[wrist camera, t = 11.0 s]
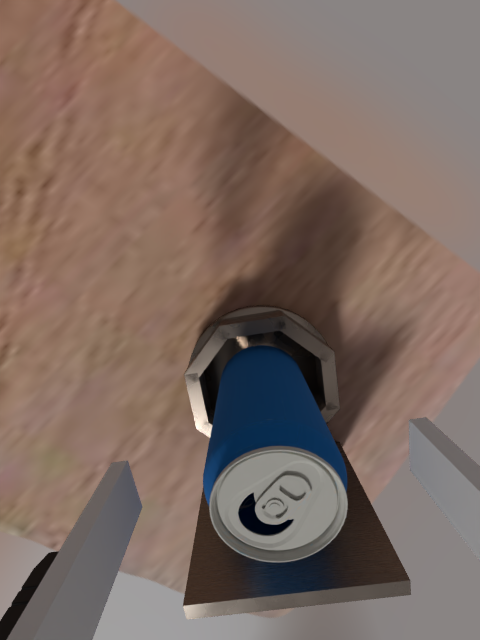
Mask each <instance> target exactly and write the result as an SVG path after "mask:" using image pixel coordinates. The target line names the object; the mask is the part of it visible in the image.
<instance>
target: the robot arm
mask: <svg viewBox="0 0 480 640" xmlns="http://www.w3.org/2000/svg"><path fill="white" fill-rule="evenodd" d="M409 448H410V471H411V472H412V473H413V475H414V476H415V477H416V479H417V480H418V481H419V482H420V484H421V485H422V486H423V488H424V489H425V490H426V492H427V493H428V494H429V495H430V497H431V498H432V499H433V501H434V502H435V503H436V505H437V506H438V507H439V509H440V510H441V511H442V512H443V514H444V515H445V516H446V518H447V519H448V520H449V522H450V523H451V524H452V525H453V527H454V528H455V529H456V531H457V532H458V533H459V535H460V536H461V537H462V538H463V540H464V541H465V542H466V544H467V545H468V546H469V548H470V549H471V550H472V552H473V553H474V554H475V556H476V557H477V558H478V559H479V561H480V466H479V465H478V464H477V463H476V462H475V461H474V460H472V459H471V458H470V457H469V456H468V455H467V454H466V453H464V451H463V450H461V449H460V448H459V447H458V446H457V445H456V444H455V443H454V442H453V441H451V440H450V439H449V438H448V437H447V436H446V435H445V434H444V433H443V432H442V431H441V430H439V429H438V428H437V427H436V426H435V425H434V424H433V423H432V422H431V421H430V420H428V419H427V418H426V417H424V418H417V419H410V420H409ZM141 509H142V505H141V501H140V498H139V495H138V492H137V489H136V486H135V482H134V479H133V476H132V473H131V470H130V467H129V463H128V460H127V461H121V462H114V463H111V465H110V467H109V468H108V470H107V472H106V473H105V475H104V477H103V478H102V480H101V482H100V484H99V485H98V487H97V489H96V490H95V492H94V494H93V495H92V497H91V499H90V500H89V502H88V504H87V505H86V507H85V509H84V510H83V512H82V514H81V515H80V517H79V519H78V520H77V522H76V524H75V526H74V527H73V529H72V531H71V532H70V534H69V536H68V537H67V539H66V541H65V542H64V544H63V546H62V547H61V549H60V551H58V552H51V553H48V554H47V555H46V556H45V558H44V559H43V560H42V561H41V562H40V563H39V564H38V565H37V566H36V567H35V568H34V569H33V571H32V572H31V574H30V576H29V577H28V579H27V580H26V582H25V583H24V585H23V586H22V590H21V591H19V593H18V594H17V596H16V597H15V599H14V600H13V602H12V606H11V607H9V608H8V610H7V611H6V613H5V614H4V616H3V617H2V619H1V621H0V640H92V639H93V636H94V634H95V631H96V628H97V626H98V623H99V620H100V618H101V615H102V612H103V610H104V607H105V604H106V602H107V599H108V596H109V594H110V591H111V588H112V586H113V583H114V580H115V578H116V575H117V573H118V570H119V567H120V565H121V562H122V559H123V557H124V554H125V551H126V549H127V546H128V543H129V541H130V538H131V535H132V533H133V530H134V527H135V525H136V522H137V519H138V517H139V514H140V511H141Z"/></svg>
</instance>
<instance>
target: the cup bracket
mask: <svg viewBox="0 0 480 640" xmlns="http://www.w3.org/2000/svg"><path fill="white" fill-rule="evenodd" d="M256 345H268V346H273V347H276V348H279V349H281V350H283V351H285V352H286V353H288V354H289V355H290V356H291V357H292V358H293V359H294V360H295V361H296V363H297V364H298V366H299V368H300V370H301V372H302V375H303V377H304V379H305V381H306V383H307V385H308V387H309V389H310V391H311V393H312V395H313V397H314V399H315V402H316V404H317V406H318V408H319V410H320V412H321V414H322V416H323V418H324V420H325V422H326V424H327V423H328V422H329V421H330V419H331V418H332V417H333V416H334V415H335V414H336V413H337V412H338V410H339V409H340V405H339V394H338V384H337V374H336V364H335V353H334V351H333V350H332V349H331V348H330V347H329V345H328V344H327V343H326V341H325V340H324V338H323V337H322V336H321V334H320V333H319V332H318V331H317V330H316V329H315V328H314V327H313V326H312V325H311V324H310V323H309V322H308V321H307V320H305V319H304V318H302V317H301V316H299V315H298V314H296V313H293V312H291V311H289V310H286V309H283V308H279V307H274V306H264V305H258V306H249V307H244V308H240V309H237V310H234V311H232V312H230V313H228V314H226V315H224V316H222V317H221V318H219V319H218V320H216V321H215V322H214V323H213V324H212V325H211V326H209V327H208V328H207V330H206V331H205V332H204V333H203V334H202V336H201V337H200V339H199V341H198V342H197V344H196V346H195V348H194V350H193V353H192V355H191V359H190V363H189V366H188V368H187V370H186V372H185V374H184V376H185V380H186V385H187V389H188V393H189V398H190V402H191V407H192V411H193V415H194V420H195V424H196V428H197V430H199V431H200V432H202V433H203V434H205V435H207V436H208V437H210V436H211V430H212V425H213V419H214V414H215V408H216V403H217V397H218V392H219V386H220V381H221V376H222V372H223V369H224V367H225V365H226V364H227V362H228V361H229V360H230V359H231V358H232V357H233V356H234V355H235V354H236V353H238V352H239V351H241V350H243V349H245V348H248V347H251V346H256ZM335 443H336V445H337V447H338V449H339V451H340V453H341V456H342V458H343V460H344V463H345V466H346V472H347V491H346V494H347V500H348V510H347V515H346V519H345V521H344V524H343V526H342V528H341V530H340V531H339V533H338V534H337V536H336V537H335V538H334V539H333V540H332V541H331V542H330V543H329V544H328V545H327V546H325V547H324V548H323V549H321V550H320V551H318V552H316V553H314V554H312V555H310V556H308V557H305V558H302V559H299V560H295V561H289V562H265V561H259V560H255V559H252V558H249V557H246V556H244V555H242V554H240V553H238V552H236V551H235V550H234V549H232V548H231V547H229V546H228V545H227V544H226V543H225V542H224V541H223V540H222V539H221V538H220V536H219V535H218V533H217V532H216V530H215V528H214V526H213V524H212V521H211V517H210V510H209V505H208V503H207V500H206V497H205V493H204V486H203V492H202V498H201V504H200V510H199V515H198V521H197V527H196V533H195V539H194V545H193V550H192V556H191V562H190V568H189V574H188V580H187V586H186V591H185V597H184V603H183V607H184V611H185V614H186V618H187V619H195V618H204V617H213V616H222V615H232V614H240V613H250V612H259V611H268V610H277V609H286V608H295V607H304V606H313V605H322V604H331V603H340V602H349V601H358V600H367V599H376V598H385V597H395V596H404V595H411V589H410V579H409V577H408V575H407V573H406V571H405V569H404V567H403V565H402V563H401V561H400V560H399V558H398V556H397V554H396V552H395V550H394V548H393V546H392V544H391V542H390V540H389V538H388V536H387V534H386V532H385V530H384V528H383V526H382V524H381V522H380V520H379V519H378V516H377V515H376V513H375V511H374V509H373V507H372V505H371V503H370V501H369V499H368V497H367V495H366V493H365V491H364V489H363V487H362V485H361V483H360V481H359V479H358V477H357V475H356V473H355V472H354V470H353V468H352V466H351V464H350V462H349V460H348V458H347V456H346V454H345V452H344V450H343V448H342V446H341V444H340V442H335Z"/></svg>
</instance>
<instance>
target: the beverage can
mask: <svg viewBox="0 0 480 640" xmlns="http://www.w3.org/2000/svg"><path fill="white" fill-rule="evenodd" d="M203 486H204V493H205V497H206V500H207V503H208V505H209V510H210V517H211V521H212V524H213V526H214V528H215V530H216V532H217V533H218V535H219V536H220V538H221V539H222V540H223V541H224V542H225V543H226V544H227V545H228V546H229V547H231V548H232V549H234V550H235V551H236V552H238V553H240V554H242V555H244V556H246V557H249V558H252V559H255V560H259V561H265V562H289V561H295V560H299V559H302V558H305V557H308V556H310V555H312V554H314V553H316V552H318V551H320V550H321V549H323V548H324V547H325V546H327V545H328V544H329V543H330V542H331V541H332V540H333V539H334V538H335V537H336V536H337V534H338V533H339V531H340V530H341V528H342V526H343V524H344V521H345V519H346V515H347V510H348V500H347V494H346V491H347V472H346V466H345V463H344V460H343V458H342V456H341V453H340V451H339V449H338V447H337V445H336V443H335V441H334V439H333V437H332V435H331V433H330V431H329V429H328V426H327V424H326V422H325V420H324V418H323V416H322V414H321V412H320V410H319V408H318V406H317V404H316V402H315V399H314V397H313V395H312V393H311V391H310V389H309V387H308V385H307V383H306V381H305V379H304V377H303V375H302V372H301V370H300V368H299V366H298V364H297V363H296V361H295V360H294V359H293V358H292V357H291V356H290V355H289V354H288V353H286V352H285V351H283V350H281V349H279V348H276V347H273V346H268V345H256V346H251V347H248V348H245V349H243V350H241V351H239V352H238V353H236V354H235V355H234V356H233V357H232V358H231V359H230V360H229V361H228V362H227V364H226V365H225V367H224V369H223V372H222V376H221V381H220V386H219V392H218V397H217V403H216V408H215V414H214V419H213V425H212V430H211V436H210V441H209V447H208V452H207V458H206V463H205V469H204V474H203Z"/></svg>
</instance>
